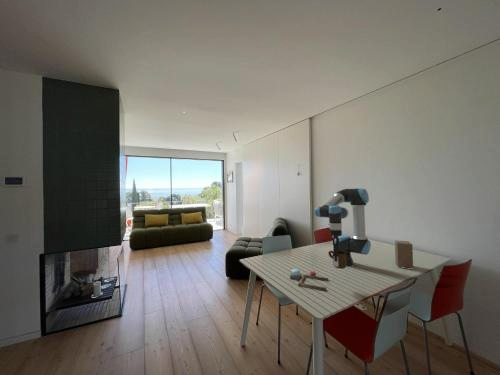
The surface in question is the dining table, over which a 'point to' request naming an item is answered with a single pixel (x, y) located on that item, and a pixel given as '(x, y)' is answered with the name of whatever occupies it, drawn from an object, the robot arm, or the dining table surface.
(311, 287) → the bay
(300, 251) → the dining table surface
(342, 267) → the mug
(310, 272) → the die
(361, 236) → the robot arm
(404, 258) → the wooden block
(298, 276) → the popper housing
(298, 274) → the dome
